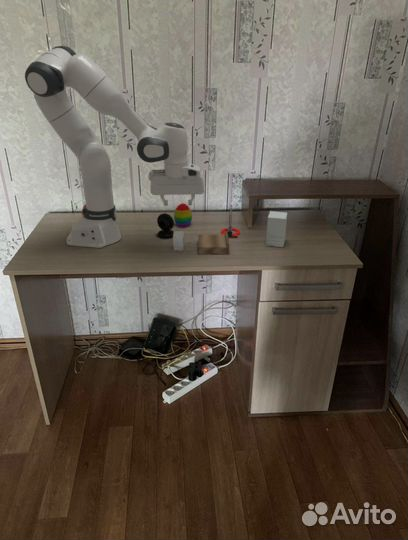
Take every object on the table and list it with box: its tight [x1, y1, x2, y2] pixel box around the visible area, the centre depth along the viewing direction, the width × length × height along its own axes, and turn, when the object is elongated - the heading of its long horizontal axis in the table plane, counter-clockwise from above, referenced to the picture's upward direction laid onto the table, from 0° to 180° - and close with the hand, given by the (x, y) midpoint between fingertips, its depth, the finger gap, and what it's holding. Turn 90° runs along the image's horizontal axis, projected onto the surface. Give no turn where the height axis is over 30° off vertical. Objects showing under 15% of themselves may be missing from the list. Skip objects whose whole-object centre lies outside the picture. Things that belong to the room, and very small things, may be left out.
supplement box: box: [265, 210, 288, 248], centre depth 166 cm, size 7×7×13 cm
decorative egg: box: [173, 203, 193, 228], centre depth 183 cm, size 8×8×10 cm
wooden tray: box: [198, 231, 230, 255], centre depth 164 cm, size 12×12×4 cm
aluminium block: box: [172, 230, 185, 252], centre depth 163 cm, size 4×6×6 cm
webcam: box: [156, 212, 175, 240], centre depth 173 cm, size 8×8×10 cm
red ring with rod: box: [220, 207, 241, 239], centre depth 175 cm, size 8×13×9 cm
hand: (178, 205), depth 156 cm, fingers open, 8 cm apart
